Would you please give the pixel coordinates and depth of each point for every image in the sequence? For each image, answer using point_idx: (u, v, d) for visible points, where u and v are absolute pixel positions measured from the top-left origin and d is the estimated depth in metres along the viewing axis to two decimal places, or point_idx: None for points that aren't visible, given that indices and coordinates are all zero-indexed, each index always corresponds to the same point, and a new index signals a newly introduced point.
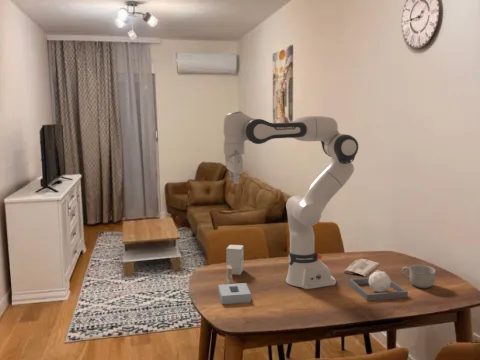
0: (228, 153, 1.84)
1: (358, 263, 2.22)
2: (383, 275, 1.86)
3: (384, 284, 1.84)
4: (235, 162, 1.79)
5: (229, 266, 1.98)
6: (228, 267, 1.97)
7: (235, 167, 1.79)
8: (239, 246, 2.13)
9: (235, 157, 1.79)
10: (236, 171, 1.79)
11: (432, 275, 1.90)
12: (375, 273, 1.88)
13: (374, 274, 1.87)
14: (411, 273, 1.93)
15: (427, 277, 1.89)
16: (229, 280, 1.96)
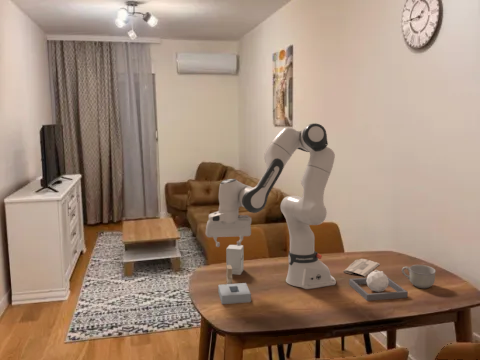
0: (236, 219, 1.92)
1: (358, 263, 2.22)
2: (381, 275, 1.86)
3: (382, 284, 1.85)
4: None
5: (229, 266, 1.98)
6: (228, 267, 1.97)
7: (250, 229, 1.95)
8: (239, 246, 2.13)
9: (248, 221, 1.95)
10: (250, 233, 1.96)
11: (432, 275, 1.90)
12: (373, 273, 1.88)
13: (372, 274, 1.88)
14: (411, 273, 1.93)
15: (427, 277, 1.89)
16: (229, 280, 1.96)
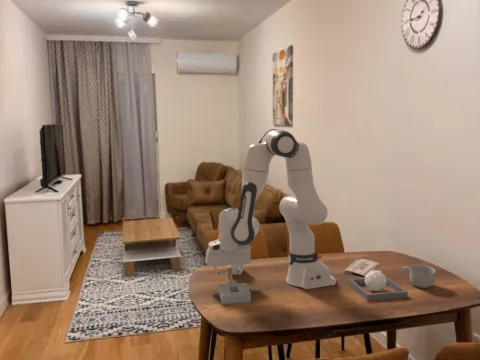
0: (236, 248, 1.93)
1: (358, 263, 2.21)
2: (379, 274, 1.87)
3: (380, 284, 1.85)
4: (249, 253, 1.96)
5: (229, 266, 1.98)
6: (228, 267, 1.97)
7: None
8: None
9: (248, 248, 1.96)
10: None
11: (432, 275, 1.90)
12: (371, 272, 1.89)
13: (370, 273, 1.88)
14: (411, 273, 1.93)
15: (427, 277, 1.89)
16: (229, 280, 1.96)
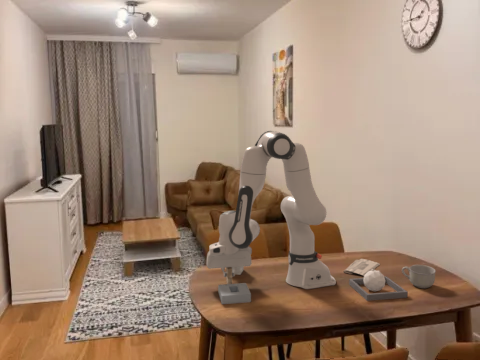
0: (236, 250, 1.94)
1: (358, 263, 2.21)
2: (378, 274, 1.87)
3: (378, 283, 1.85)
4: (250, 255, 1.97)
5: None
6: (228, 267, 1.97)
7: None
8: None
9: (248, 251, 1.97)
10: None
11: (432, 275, 1.90)
12: (370, 272, 1.89)
13: (369, 273, 1.89)
14: (411, 273, 1.93)
15: (427, 277, 1.89)
16: (229, 280, 1.96)
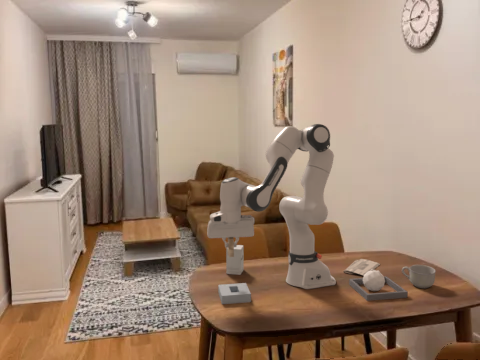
0: (238, 219, 1.85)
1: (358, 263, 2.21)
2: (377, 274, 1.87)
3: (377, 283, 1.86)
4: None
5: None
6: (230, 237, 1.88)
7: (253, 230, 1.88)
8: (239, 246, 2.13)
9: (251, 221, 1.88)
10: (253, 233, 1.89)
11: (432, 275, 1.90)
12: (369, 272, 1.89)
13: (368, 273, 1.89)
14: (411, 273, 1.93)
15: (427, 277, 1.89)
16: (230, 251, 1.87)
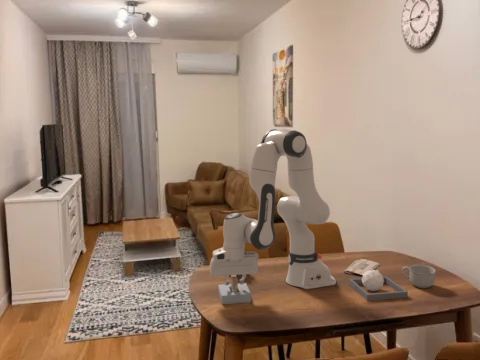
0: (242, 256, 1.79)
1: (358, 263, 2.21)
2: (376, 274, 1.87)
3: (376, 283, 1.86)
4: (257, 262, 1.82)
5: (234, 276, 1.83)
6: (233, 277, 1.82)
7: (257, 266, 1.82)
8: None
9: (255, 257, 1.82)
10: None
11: (432, 275, 1.90)
12: (368, 272, 1.89)
13: (367, 273, 1.89)
14: (411, 273, 1.93)
15: (427, 277, 1.89)
16: (234, 291, 1.81)
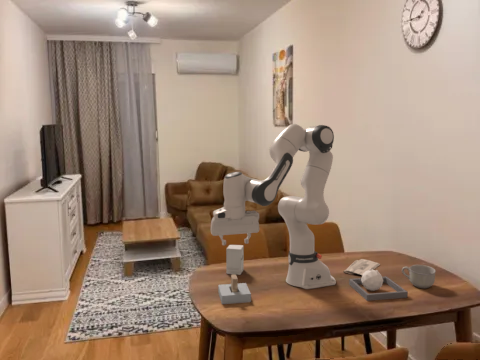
0: (243, 215, 1.79)
1: (358, 263, 2.21)
2: (375, 274, 1.88)
3: (375, 283, 1.86)
4: None
5: (234, 276, 1.83)
6: (233, 277, 1.82)
7: (258, 225, 1.82)
8: (239, 246, 2.13)
9: (256, 216, 1.82)
10: None
11: (432, 275, 1.90)
12: (367, 271, 1.90)
13: (366, 272, 1.89)
14: (411, 273, 1.93)
15: (427, 277, 1.89)
16: (234, 291, 1.81)
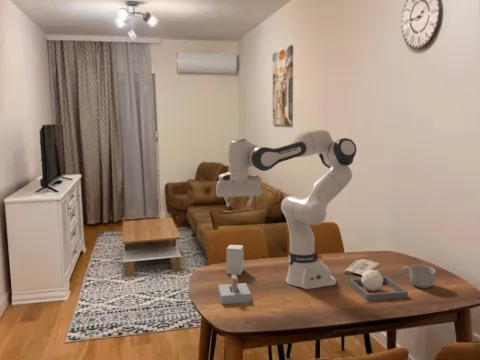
0: (246, 179, 1.93)
1: (358, 263, 2.21)
2: (375, 274, 1.88)
3: (375, 283, 1.86)
4: None
5: (234, 276, 1.83)
6: (233, 277, 1.82)
7: (260, 189, 1.96)
8: (239, 246, 2.13)
9: (258, 180, 1.96)
10: None
11: (432, 275, 1.90)
12: (367, 271, 1.90)
13: (366, 272, 1.89)
14: (411, 273, 1.93)
15: (427, 277, 1.89)
16: (234, 291, 1.81)
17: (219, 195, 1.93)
